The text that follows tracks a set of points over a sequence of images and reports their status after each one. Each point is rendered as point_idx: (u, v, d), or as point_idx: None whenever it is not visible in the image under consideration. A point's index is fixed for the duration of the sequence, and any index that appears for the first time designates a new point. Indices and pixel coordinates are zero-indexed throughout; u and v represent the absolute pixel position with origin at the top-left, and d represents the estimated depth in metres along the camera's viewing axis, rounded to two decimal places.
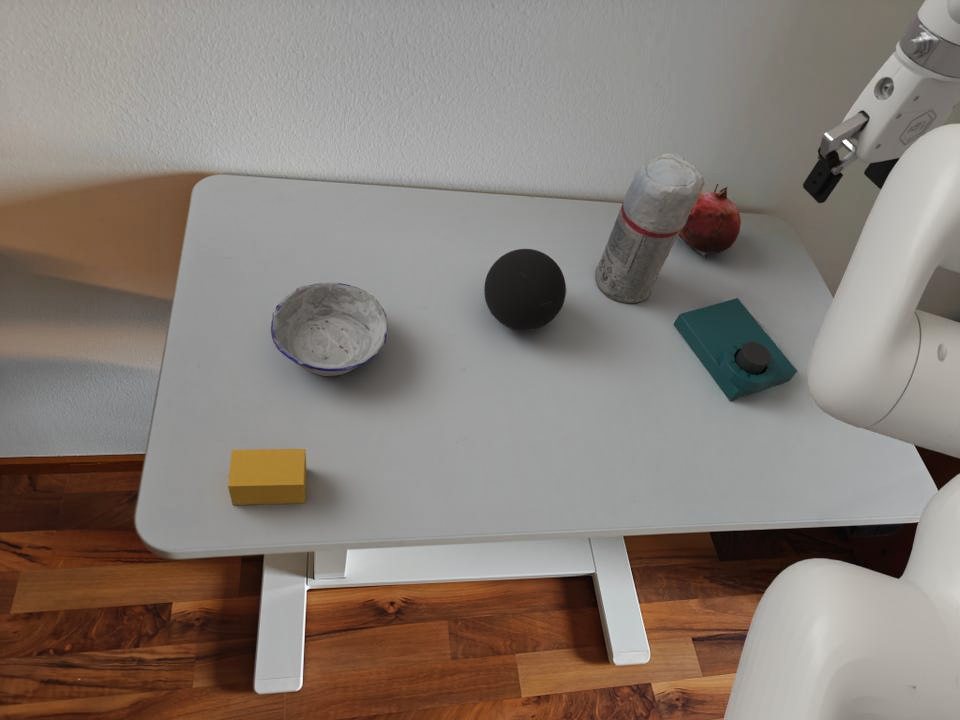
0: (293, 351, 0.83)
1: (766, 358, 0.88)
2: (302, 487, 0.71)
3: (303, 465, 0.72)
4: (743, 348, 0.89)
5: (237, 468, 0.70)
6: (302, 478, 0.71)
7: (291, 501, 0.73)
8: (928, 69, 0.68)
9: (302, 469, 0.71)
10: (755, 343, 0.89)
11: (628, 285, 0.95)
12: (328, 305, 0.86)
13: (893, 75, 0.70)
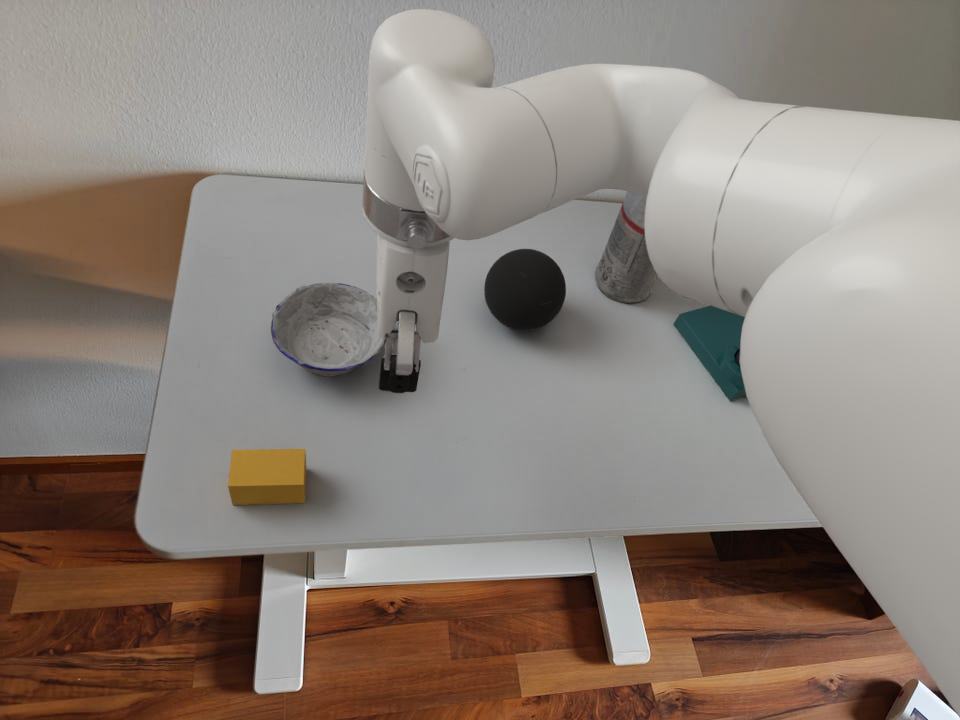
0: (293, 351, 0.83)
1: None
2: (302, 487, 0.71)
3: (303, 465, 0.72)
4: None
5: (237, 468, 0.70)
6: (302, 478, 0.71)
7: (291, 501, 0.73)
8: (441, 239, 0.51)
9: (302, 469, 0.71)
10: None
11: (628, 285, 0.95)
12: (328, 305, 0.86)
13: (411, 268, 0.51)
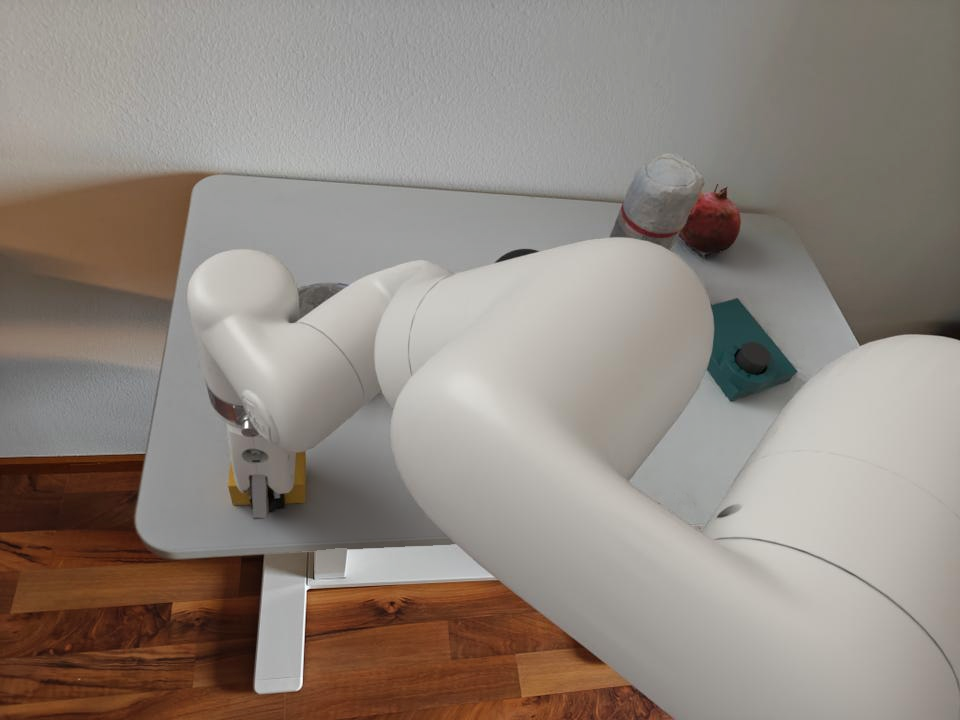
0: None
1: (766, 358, 0.88)
2: (302, 487, 0.71)
3: (303, 465, 0.72)
4: (743, 348, 0.89)
5: None
6: (302, 478, 0.71)
7: (291, 501, 0.73)
8: None
9: (302, 469, 0.71)
10: (755, 343, 0.89)
11: None
12: None
13: (253, 446, 0.59)
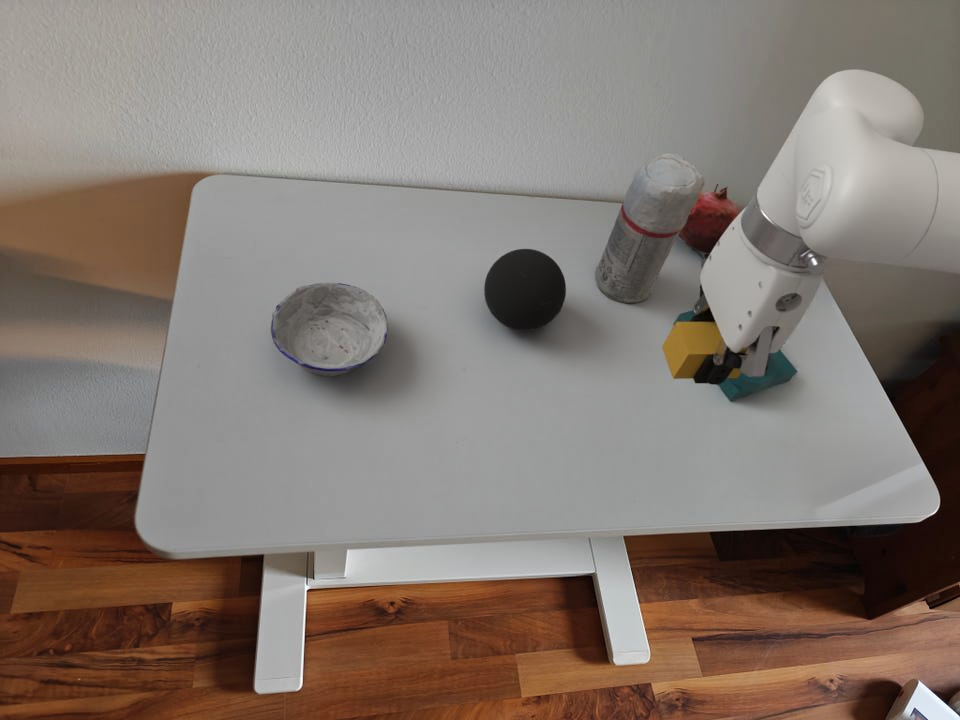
0: (293, 351, 0.83)
1: None
2: None
3: None
4: None
5: (689, 338, 0.69)
6: None
7: None
8: None
9: None
10: None
11: (628, 285, 0.95)
12: (328, 305, 0.86)
13: (795, 290, 0.58)
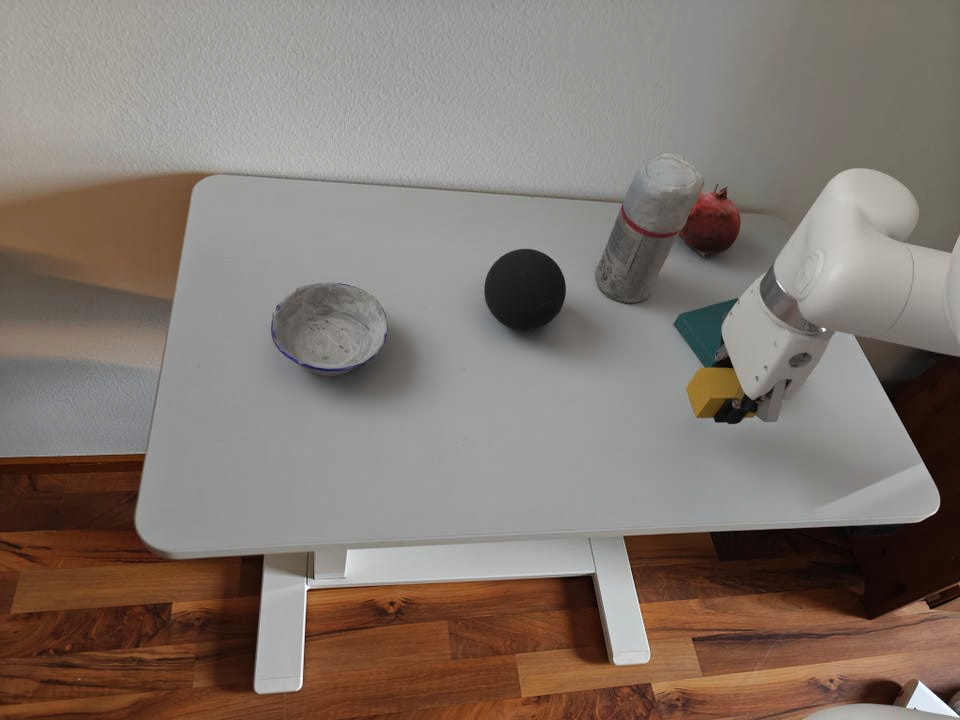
0: (293, 351, 0.83)
1: None
2: None
3: None
4: None
5: (711, 383, 0.78)
6: None
7: None
8: None
9: None
10: None
11: (628, 285, 0.95)
12: (328, 305, 0.86)
13: (806, 350, 0.67)
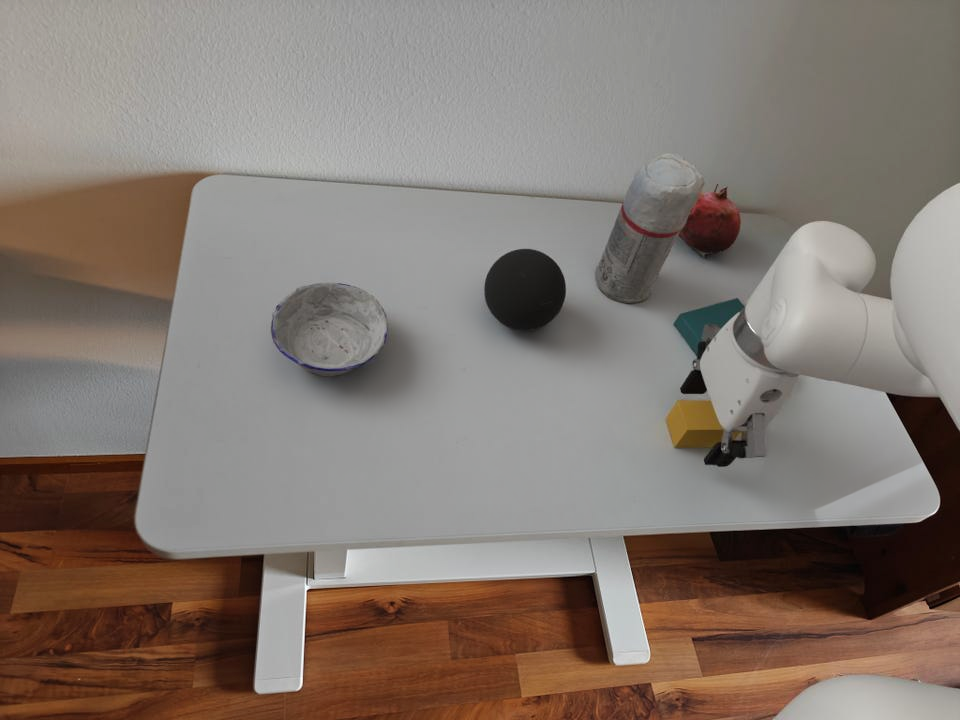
0: (293, 351, 0.83)
1: None
2: (740, 432, 0.84)
3: None
4: None
5: (688, 415, 0.83)
6: None
7: None
8: None
9: None
10: None
11: (628, 285, 0.95)
12: (328, 305, 0.86)
13: (776, 386, 0.71)
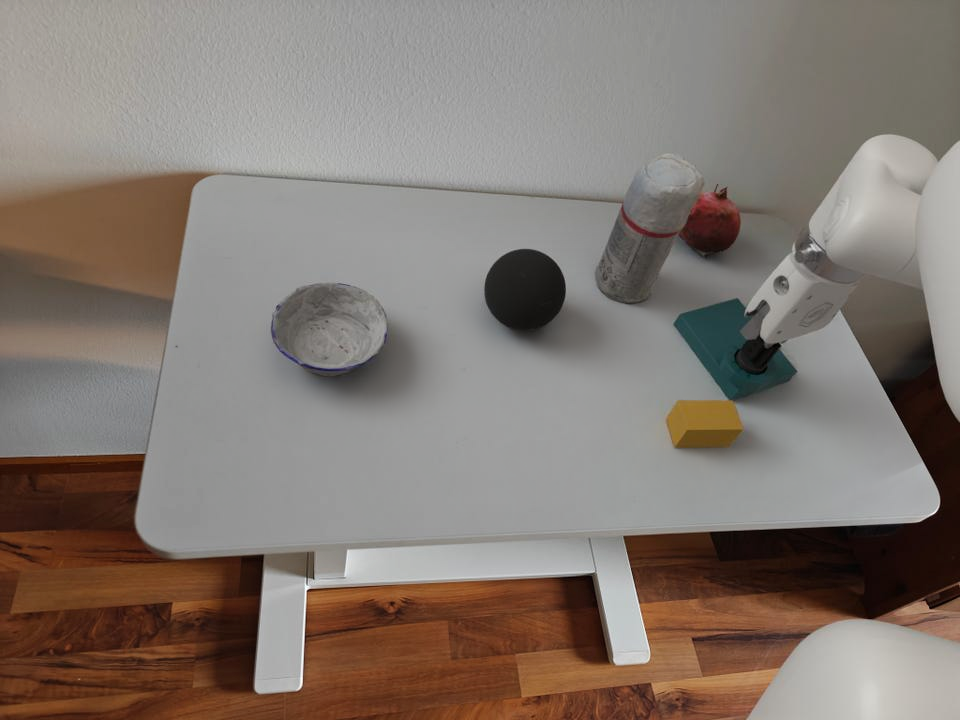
0: (293, 351, 0.83)
1: None
2: (740, 432, 0.84)
3: (737, 413, 0.84)
4: (739, 353, 0.89)
5: (688, 415, 0.83)
6: (741, 424, 0.83)
7: (720, 445, 0.86)
8: (818, 275, 0.74)
9: (738, 417, 0.84)
10: None
11: (628, 285, 0.95)
12: (328, 305, 0.86)
13: (788, 276, 0.75)
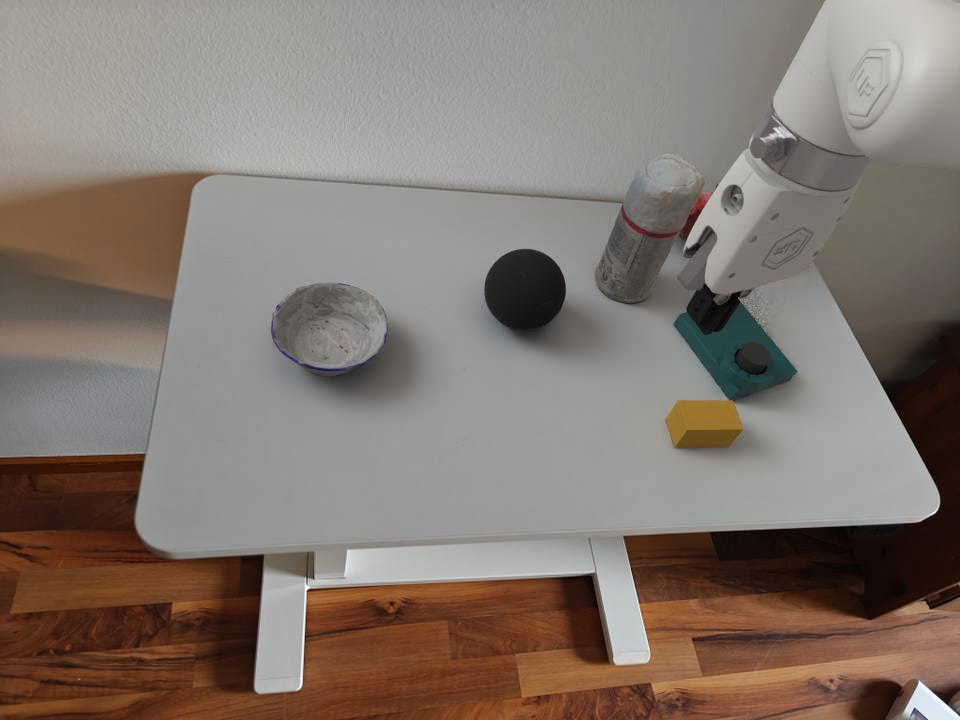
0: (293, 351, 0.83)
1: (766, 358, 0.88)
2: (740, 432, 0.84)
3: (737, 413, 0.84)
4: (743, 348, 0.89)
5: (688, 415, 0.83)
6: (741, 424, 0.83)
7: (720, 445, 0.86)
8: (787, 178, 0.47)
9: (738, 417, 0.84)
10: (755, 343, 0.89)
11: (628, 285, 0.95)
12: (328, 305, 0.86)
13: (742, 183, 0.49)
